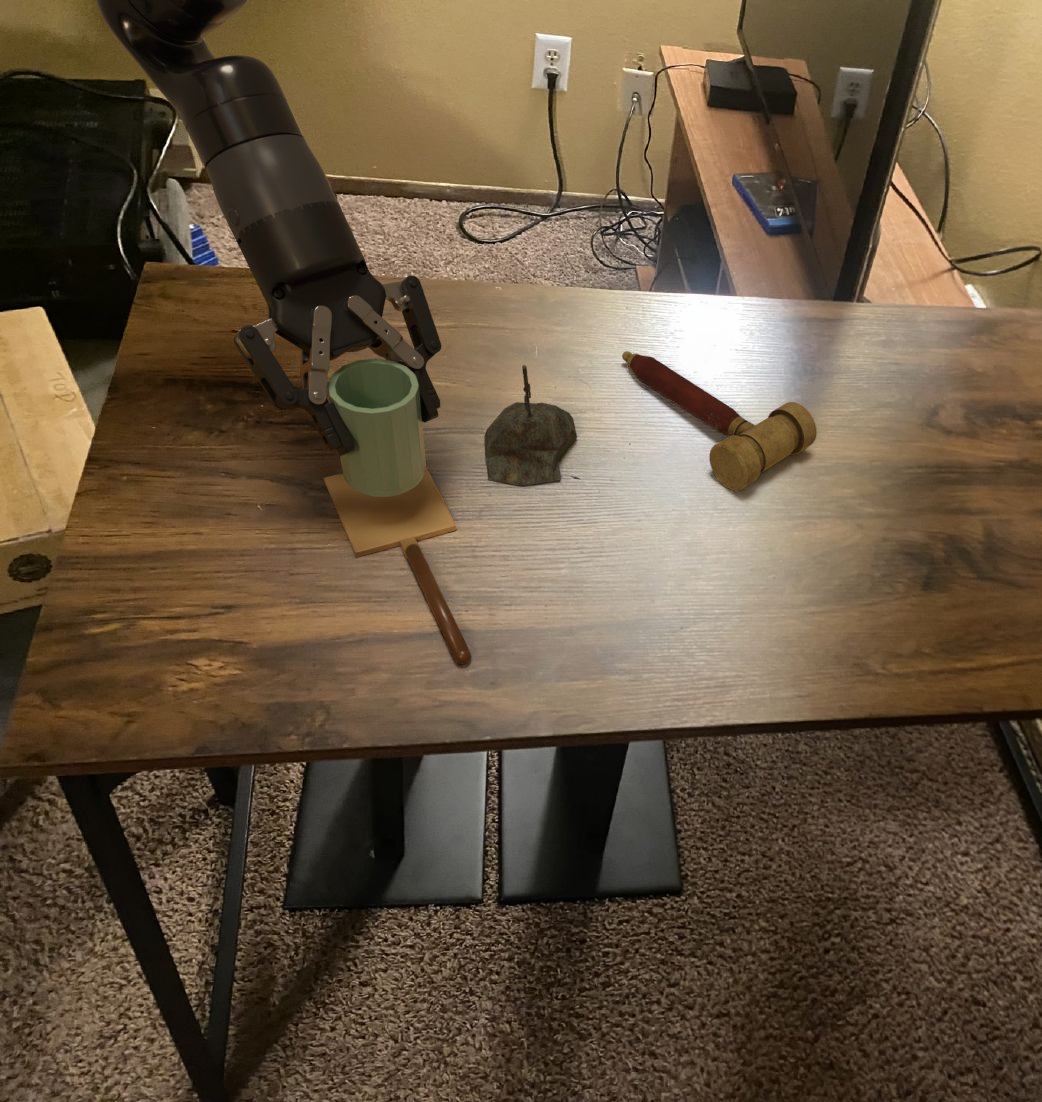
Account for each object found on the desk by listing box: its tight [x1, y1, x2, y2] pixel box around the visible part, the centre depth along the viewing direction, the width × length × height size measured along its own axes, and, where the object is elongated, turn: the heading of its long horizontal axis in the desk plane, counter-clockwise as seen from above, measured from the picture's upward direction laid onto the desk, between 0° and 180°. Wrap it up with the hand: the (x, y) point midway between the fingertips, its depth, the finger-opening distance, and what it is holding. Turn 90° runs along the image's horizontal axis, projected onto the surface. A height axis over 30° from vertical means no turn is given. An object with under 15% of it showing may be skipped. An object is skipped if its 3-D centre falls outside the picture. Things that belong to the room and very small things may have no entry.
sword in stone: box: [483, 364, 578, 487], centre depth 84 cm, size 10×8×12 cm
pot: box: [327, 358, 427, 497], centre depth 75 cm, size 6×6×8 cm
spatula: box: [323, 467, 472, 665], centre depth 77 cm, size 22×8×1 cm, turn 31°
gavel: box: [621, 350, 818, 492], centre depth 94 cm, size 21×5×10 cm
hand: (389, 435), depth 74 cm, fingers closed on pot, 6 cm apart
